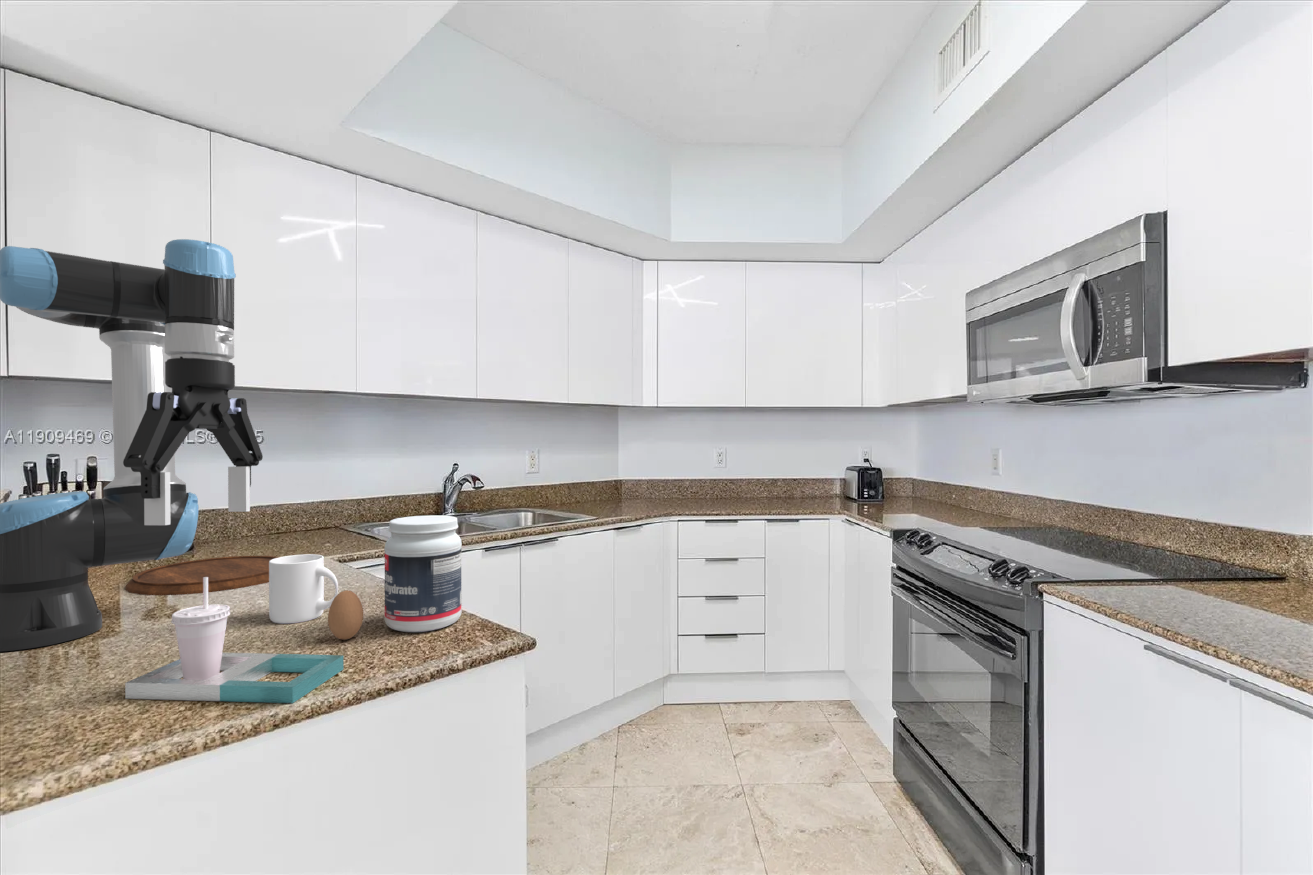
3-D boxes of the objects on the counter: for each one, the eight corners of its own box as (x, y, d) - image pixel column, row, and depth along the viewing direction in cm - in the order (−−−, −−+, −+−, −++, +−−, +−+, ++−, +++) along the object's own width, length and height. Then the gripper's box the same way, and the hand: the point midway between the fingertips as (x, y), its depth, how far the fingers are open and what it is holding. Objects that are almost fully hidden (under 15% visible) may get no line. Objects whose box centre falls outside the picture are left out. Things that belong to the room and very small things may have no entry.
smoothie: (242, 676, 85) (241, 574, 85) (193, 695, 79) (193, 585, 78) (209, 670, 87) (208, 571, 87) (159, 688, 81) (159, 581, 81)
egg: (349, 632, 103) (349, 585, 103) (370, 636, 101) (370, 588, 101) (320, 641, 99) (320, 592, 99) (341, 646, 96) (341, 596, 96)
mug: (323, 625, 107) (323, 564, 107) (257, 624, 108) (257, 563, 108) (351, 611, 116) (350, 554, 116) (290, 610, 117) (289, 553, 116)
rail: (125, 698, 77) (125, 682, 77) (196, 665, 88) (196, 651, 88) (292, 703, 76) (292, 687, 76) (343, 669, 87) (343, 655, 87)
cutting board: (261, 559, 166) (261, 550, 166) (319, 575, 147) (319, 564, 147) (106, 582, 140) (106, 571, 140) (152, 605, 121) (152, 592, 121)
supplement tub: (367, 628, 105) (367, 521, 105) (425, 609, 117) (424, 513, 117) (422, 639, 100) (422, 526, 100) (477, 618, 111) (477, 517, 111)
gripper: (144, 345, 70) (145, 532, 70) (288, 369, 95) (289, 506, 95) (82, 346, 70) (83, 531, 70) (242, 369, 95) (243, 506, 95)
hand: (201, 517), depth 82 cm, fingers open, 13 cm apart
